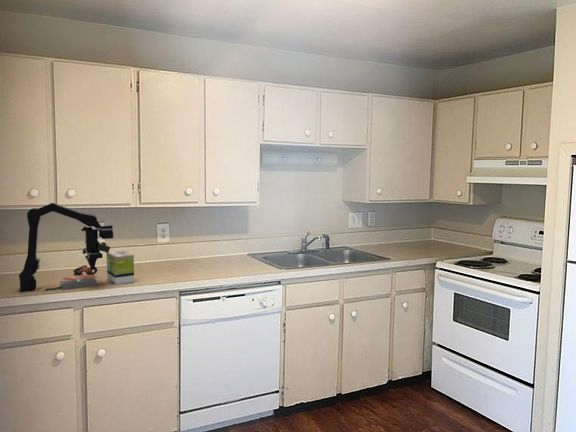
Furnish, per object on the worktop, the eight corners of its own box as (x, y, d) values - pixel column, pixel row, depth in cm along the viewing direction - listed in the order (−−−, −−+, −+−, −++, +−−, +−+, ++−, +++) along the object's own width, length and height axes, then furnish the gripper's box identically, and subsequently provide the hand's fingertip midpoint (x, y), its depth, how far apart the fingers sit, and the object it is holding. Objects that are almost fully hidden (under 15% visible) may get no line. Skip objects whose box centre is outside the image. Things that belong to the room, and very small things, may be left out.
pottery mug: (80, 282, 245) (73, 268, 246) (76, 287, 252) (69, 273, 253) (102, 273, 253) (95, 260, 254) (97, 278, 260) (91, 265, 261)
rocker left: (63, 279, 230) (63, 277, 230) (62, 278, 232) (62, 276, 232) (76, 280, 233) (76, 278, 233) (75, 279, 236) (75, 277, 236)
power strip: (45, 291, 225) (45, 285, 224) (44, 289, 230) (44, 282, 229) (96, 285, 237) (96, 279, 237) (94, 283, 242) (94, 277, 242)
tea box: (106, 279, 251) (105, 252, 250) (125, 276, 258) (124, 250, 256) (115, 284, 240) (114, 256, 238) (135, 282, 246) (134, 254, 244)
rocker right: (80, 278, 234) (81, 275, 234) (79, 276, 237) (80, 274, 237) (93, 278, 238) (93, 275, 238) (92, 277, 240) (92, 274, 240)
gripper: (112, 240, 233) (113, 271, 235) (104, 235, 249) (105, 264, 251) (88, 242, 227) (90, 274, 229) (81, 237, 243) (82, 267, 244)
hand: (92, 269), depth 238 cm, fingers closed
